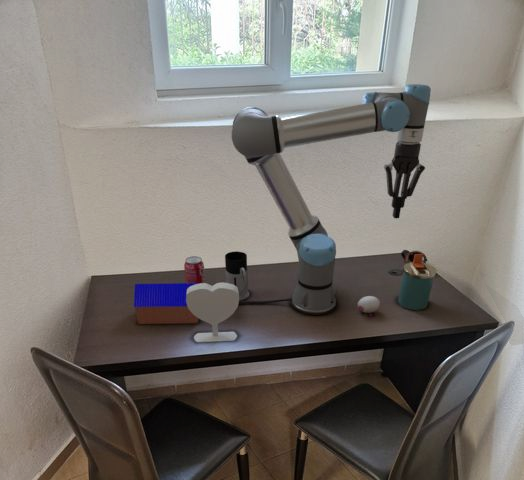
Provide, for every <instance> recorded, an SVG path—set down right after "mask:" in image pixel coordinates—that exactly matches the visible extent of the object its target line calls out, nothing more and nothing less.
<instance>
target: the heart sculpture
mask: <svg viewBox="0 0 524 480" xmlns="http://www.w3.org/2000/svg"><path fill="white" fill-rule="evenodd" d="M239 301H240V300H239V292H238V287H236V286H235V285H233V284H229V283H226V282H217V283H215V284H213V285H211V284H209V283H206V282H205V283H200V284H195V285H193V286H190V287H189V288H188V289H187V294H186V303H187V306H188V309H189V310H190V311H191V312H192V314H193V315H194V316H196V317H198V318H199V319H198V320H201V321H203V322H205V323H207V324H210V325H211V332H197V333H196V334H194V336H193V339H194V341H195V343H208V342H212V343H213V342H233V341H234V342H235V341H236V339H237V338H238V335H237V333H236V332H235V331H219V325H218V324H220V323H222V322H224V321H226V320H227V319H229V318H230V317H231V316H232V315H234V313H235V312H236V310H237V309H238V307H239V304H238V303H239Z"/></svg>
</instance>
